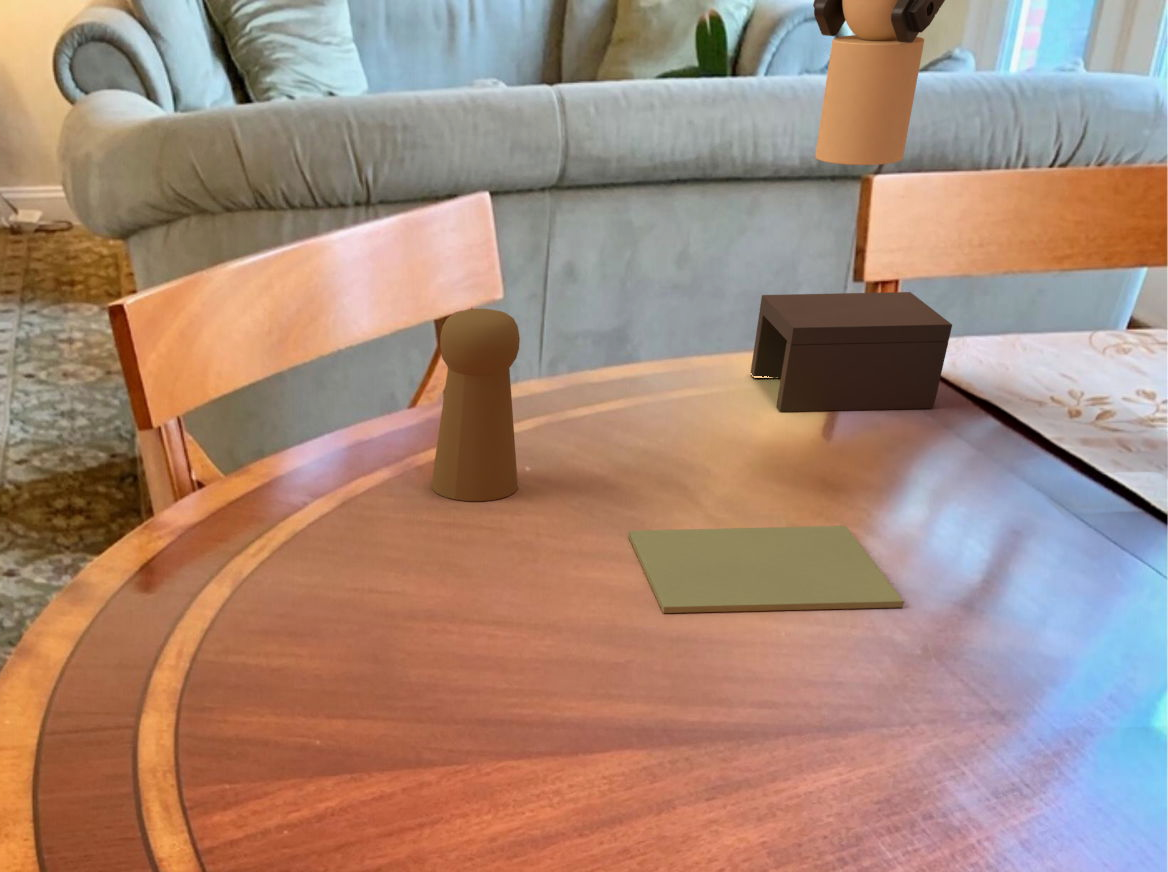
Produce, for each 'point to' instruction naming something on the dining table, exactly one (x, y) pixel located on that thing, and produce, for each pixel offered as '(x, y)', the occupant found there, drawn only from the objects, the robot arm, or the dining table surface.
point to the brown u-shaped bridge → (851, 350)
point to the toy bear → (868, 89)
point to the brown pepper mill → (477, 407)
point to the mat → (761, 569)
